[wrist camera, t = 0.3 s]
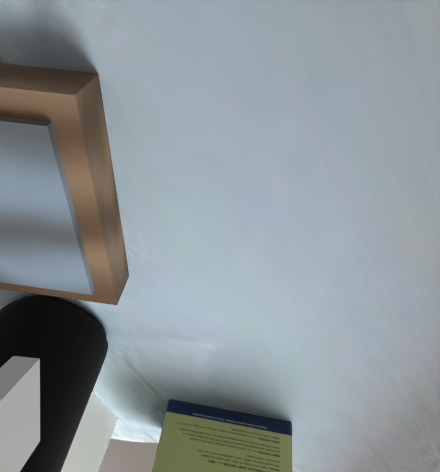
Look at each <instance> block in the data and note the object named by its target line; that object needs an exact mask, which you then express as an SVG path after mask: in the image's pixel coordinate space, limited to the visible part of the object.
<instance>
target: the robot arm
mask: <svg viewBox="0 0 440 472" xmlns="http://www.w3.org/2000/svg"><path fill="white" fill-rule="evenodd" d="M39 442H40V359H38V358H29V357H19V356H13V357H12V358H10V359H9V360H8V361H7V362H6V363H5V364H4V365H3V366H2V367H1V368H0V472H20V471H21V469H22V468H23V466H24V465H25V463H26V462H27V460H28V459H29V457H30V455H31V454H32V452H33V451H34V449H35V448H36V446H37V445H38V443H39Z"/></svg>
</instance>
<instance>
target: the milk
mask: <svg viewBox="0 0 440 472" xmlns="http://www.w3.org/2000/svg"><path fill="white" fill-rule="evenodd" d="M117 419H118V417H117V416H116V415H115V414H114V413H113V412H112V411H111V410H110V409H109V408H108V407H107V406H106V405H105V404H104V402H103V401H102V400H101V399H100V398H99V397H98V396H97V395H96V394H95V393H94V392H93V391H92V393H91V396H90V398H89V401H88V403H87V406H86V408H85V411H84V414H83V416H82V419H81V421H80V424H79V426H78V429H77V432H76V434H75V437H74V439H73V442H72V444H71V447H70V450H69V452H68V455H67V457H66V460H65V462H64V465H63V468H62V470H61V472H98V470H99V468H100V465H101V462H102V459H103V457H104V454H105V451H106V449H107V446H108V443H109V441H110V438H111V435H112V433H113V430H114V427H115V425H116V422H117Z"/></svg>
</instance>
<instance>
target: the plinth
mask: <svg viewBox="0 0 440 472" xmlns="http://www.w3.org/2000/svg"><path fill="white" fill-rule="evenodd" d="M128 277H129V273H128V266H127V260H126V253H125V246H124V240H123V233H122V227H121V220H120V214H119V207H118V200H117V194H116V187H115V181H114V174H113V168H112V161H111V154H110V148H109V141H108V135H107V128H106V122H105V115H104V109H103V102H102V95H101V89H100V82H99V76H98V74H94V73H84V72H75V71H66V70H57V69H48V68H38V67H29V66H20V65H11V64H2V63H0V289H6V290H13V291H20V292H27V293H34V294H42V295H49V296H56V297H63V298H70V299H77V300H84V301H92V302H99V303H106V304H113V305H117V304H118V301H119V299H120V296H121V294H122V292H123V289H124V287H125V284H126V282H127V279H128Z"/></svg>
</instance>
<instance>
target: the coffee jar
mask: <svg viewBox="0 0 440 472" xmlns="http://www.w3.org/2000/svg"><path fill="white" fill-rule="evenodd" d="M107 349H108V342H107V339H106V334H105V332H104V329H103V326H102V325H101V324H100V323H99V321H98V320H97V319H96V318H95V317H94V316H93V315H91V314H90V313H88V312H87V311H86V310H84V309H83V308H81V307H79V306H77V305H75V304H73V303H71V302H68V301H65V300H62V299H58V298H55V297H49V296H39V295H36V296H28V297H23V298H21V299H20V300H16V301H14V302H12V303H10V304H9V305H7V306H5V307H4V308H2V309H1V310H0V368H1V367H2V366H3V365H4V364H5V363H6V362H7V361H8V360H9V359H10V358H12V357H13V356H19V357H29V358H38V359H40V442H39V443H38V445H37V446H36V448H35V449H34V451H33V452H32V454H31V455H30V457H29V459H28V460H27V462H26V463H25V465H24V466H23V468H22V469H21V471H20V472H61V470H62V468H63V465H64V462H65V460H66V457H67V455H68V452H69V450H70V447H71V444H72V442H73V439H74V437H75V434H76V432H77V429H78V426H79V424H80V421H81V419H82V416H83V414H84V411H85V408H86V406H87V403H88V401H89V398H90V396H91V393H92V391H93V388H94V385H95V383H96V380H97V378H98V375H99V373H100V370H101V367H102V365H103V362H104V360H105V357H106V354H107Z"/></svg>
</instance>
